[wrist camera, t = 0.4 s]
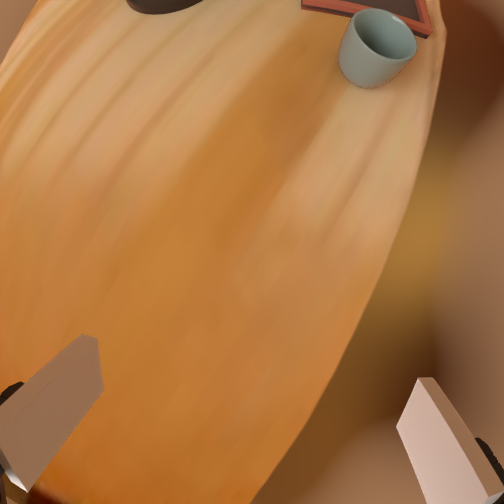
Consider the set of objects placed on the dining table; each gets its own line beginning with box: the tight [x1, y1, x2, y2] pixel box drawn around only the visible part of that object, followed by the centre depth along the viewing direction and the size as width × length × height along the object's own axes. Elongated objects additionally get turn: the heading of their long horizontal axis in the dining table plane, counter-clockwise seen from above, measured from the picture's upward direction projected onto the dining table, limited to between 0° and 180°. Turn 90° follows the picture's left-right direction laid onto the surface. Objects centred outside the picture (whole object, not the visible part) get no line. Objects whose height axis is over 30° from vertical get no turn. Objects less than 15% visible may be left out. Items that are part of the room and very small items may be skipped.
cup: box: [338, 8, 417, 88], centre depth 30 cm, size 8×8×10 cm
